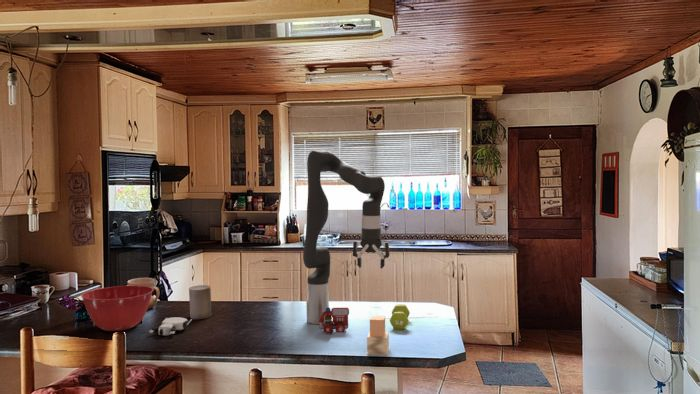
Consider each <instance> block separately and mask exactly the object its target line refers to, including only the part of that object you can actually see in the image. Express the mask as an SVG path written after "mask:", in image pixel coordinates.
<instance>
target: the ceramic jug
mask: <svg viewBox="0 0 700 394" xmlns="http://www.w3.org/2000/svg"><path fill="white" fill-rule="evenodd" d="M154 283H155V278H153V277H138V278H132V279H129V280H128V281H127V285H125V286H147V287H151V288H152V289H153V291H154V290H155V294H156V295H155V296H153V295H151V299H150V303H149V306H148V308H147V310H149V309H152V308H154V307H155V306H156V305H157V304H158V300H159V297H160V289H159V287H157V286H154Z"/></svg>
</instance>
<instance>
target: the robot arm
mask: <svg viewBox="0 0 700 394" xmlns="http://www.w3.org/2000/svg"><path fill="white" fill-rule="evenodd" d="M306 165H307V166H306V169H307V170H306V171H307V172H306V173H307V201H306V202H307V204H306V227H305V239H304V245H303V253H302V260H303V265H304V266H305V267H306V268H307V269H315V270H314V271H313V273H311V274H310V275H308V276H307V300H306V302H305V303H306V323H307V324H313V325H319V320H320V318H321V316H322V314H323V312H324V311H326V308H327V307H329V306H330V304H329V303H330V301H329V298H330V297H329V279H330V275H331V254H330V250H329V248H328V247H327V246H325V245H318V238H319V236H320V234H321V232H322V230H323V228H324V227H325V224H326V223H327V220H328V217H329V200H328V197H327V195H326V193H325V191H324V188H323V187H322V183H321V173H327V172H330V173H334V174H338V176H339V178H340V179H341V180H342V181H344V182H345V183H346V184H349V185H351V186H353V187H354V188H355V189H356V190H357V191H358V192H360V193H362V194H364V195H369V198H368V199H366V200H364V201H362V206H361V207H362V209H361V210H362V215H361V216H362V217H361V240H360V241H358V240H354V241H353V243H352V244H353V246H352V256H353V257H355V258H356V259H357V261H356V263H357V266H358V268H359V269H360V268H362V263H363V261H362V255H363V254H364V253H369V254H370V253H372V254H375V253H376V254H377V256H379V257H380V268H379V269H383V268H384V267H385V262H386V261H385V259H388V258H389V257H390V242H389V241H384V242H382V237H381V236H382V233H381V232H382V230H381V229H382V220H381V203H382V200H383V197H384V193H385V187H386V184H385V181H384V179H383V177H381V176H380V175H367V174H366V173H365V171H363V170H362V169H360V168H357V167H355V166H353V165H351V164H348V163H347V162H345V161H343V160H342V159H341V158H339V157H338V156H337V155H336V154H334V153H333V152H331V151H329V150H311V151H310V152H309V153H308V156H307V162H306ZM359 246H361V247H362V249H361V250H360V252H359V253H357V252H358V247H359ZM382 246H383V248H384V251H385V254H384V253H383V250H381V248H382ZM329 308H330V307H329ZM324 322H325V317H324ZM324 322H323V323H324Z"/></svg>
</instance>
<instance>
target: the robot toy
mask: <svg viewBox="0 0 700 394" xmlns="http://www.w3.org/2000/svg"><path fill="white" fill-rule="evenodd" d="M192 320H193V319H192V318H191V319H190V320H188V319H187V318H184V317H179V316H178V317H175V316H174V317H165V319H164V320H162V321H161V322H160V324H161V325H159V327H158V326H156V327H153V328H152V329H150V330H148V332H149V333H150V334H152V333H153V334H156V333H158V335H159V336H170V335H175V334H176V331H182V330H184V329H185V328H186V327H188V325H189V324H190V323H191V322H192Z"/></svg>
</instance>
